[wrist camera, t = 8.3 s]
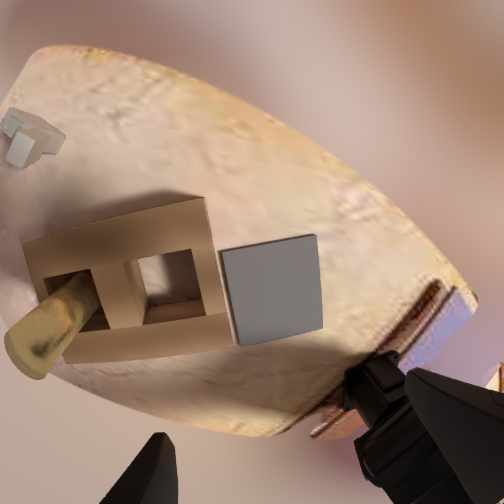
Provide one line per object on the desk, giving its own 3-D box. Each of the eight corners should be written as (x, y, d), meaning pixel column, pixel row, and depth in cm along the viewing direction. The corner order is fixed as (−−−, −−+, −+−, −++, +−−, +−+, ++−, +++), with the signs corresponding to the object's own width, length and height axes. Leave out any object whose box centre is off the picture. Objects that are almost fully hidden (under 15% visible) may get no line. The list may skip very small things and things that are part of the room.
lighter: (29, 134, 15) (-34, 122, 7) (39, 116, 15) (-22, 96, 7) (79, 173, 16) (14, 171, 9) (91, 153, 16) (28, 139, 9)
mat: (321, 326, 22) (322, 328, 22) (240, 345, 21) (241, 347, 21) (314, 234, 20) (316, 235, 20) (221, 251, 19) (222, 252, 19)
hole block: (230, 325, 21) (233, 346, 18) (79, 345, 19) (66, 363, 17) (204, 197, 18) (203, 198, 15) (42, 236, 17) (22, 244, 14)
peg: (111, 302, 19) (56, 380, 9) (82, 307, 19) (21, 378, 9) (100, 267, 18) (29, 328, 9) (71, 273, 18) (-4, 330, 8)
